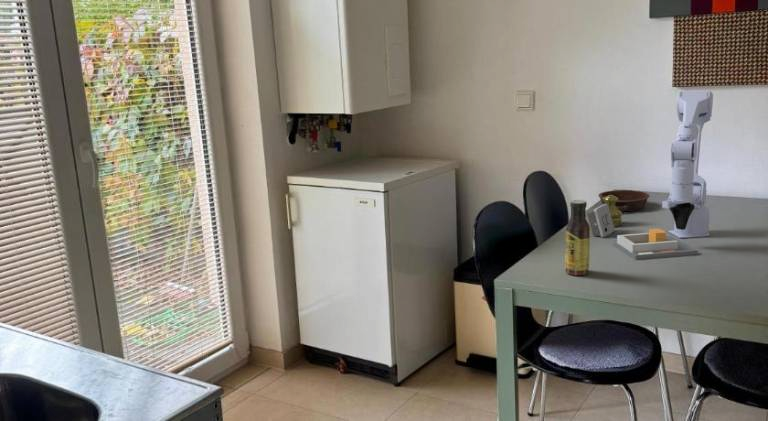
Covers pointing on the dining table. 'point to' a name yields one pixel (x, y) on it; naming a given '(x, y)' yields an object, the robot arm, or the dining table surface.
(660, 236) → the block
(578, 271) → the sauce bottle
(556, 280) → the dining table surface
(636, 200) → the dish
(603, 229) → the electrical switch
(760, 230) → the dining table surface
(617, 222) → the salt shaker
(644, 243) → the grey tray
